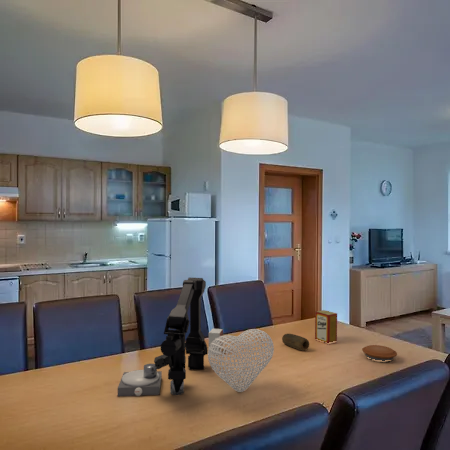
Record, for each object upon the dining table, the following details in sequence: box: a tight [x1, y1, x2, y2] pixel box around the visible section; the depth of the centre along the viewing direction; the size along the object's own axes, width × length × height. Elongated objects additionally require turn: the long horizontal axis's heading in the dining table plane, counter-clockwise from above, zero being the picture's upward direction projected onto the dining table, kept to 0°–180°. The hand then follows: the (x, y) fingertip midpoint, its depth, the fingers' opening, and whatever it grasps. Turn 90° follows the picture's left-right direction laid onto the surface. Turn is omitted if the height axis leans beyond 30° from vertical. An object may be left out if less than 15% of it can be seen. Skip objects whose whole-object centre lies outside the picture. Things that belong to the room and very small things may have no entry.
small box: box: [207, 328, 224, 356], centre depth 194 cm, size 8×6×10 cm
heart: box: [207, 328, 275, 393], centre depth 149 cm, size 28×16×22 cm, turn 130°
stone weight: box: [281, 333, 310, 351], centre depth 203 cm, size 15×7×7 cm, turn 38°
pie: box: [361, 344, 398, 361], centre depth 188 cm, size 15×16×5 cm
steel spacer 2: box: [169, 380, 185, 396], centre depth 148 cm, size 5×5×4 cm
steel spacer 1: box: [143, 363, 158, 379], centre depth 153 cm, size 5×5×4 cm
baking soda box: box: [314, 309, 338, 343], centre depth 215 cm, size 10×6×16 cm
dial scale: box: [117, 369, 163, 397], centre depth 152 cm, size 15×16×4 cm
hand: (177, 389), depth 148 cm, fingers closed on steel spacer 2, 5 cm apart
